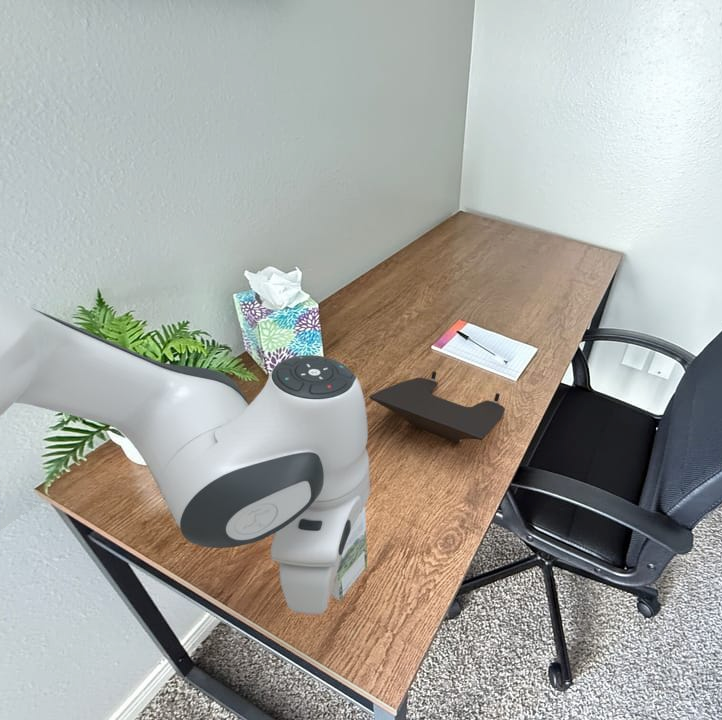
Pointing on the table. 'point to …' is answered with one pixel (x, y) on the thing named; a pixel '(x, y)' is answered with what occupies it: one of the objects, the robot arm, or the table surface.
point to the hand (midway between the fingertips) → (337, 551)
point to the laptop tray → (439, 411)
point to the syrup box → (352, 558)
